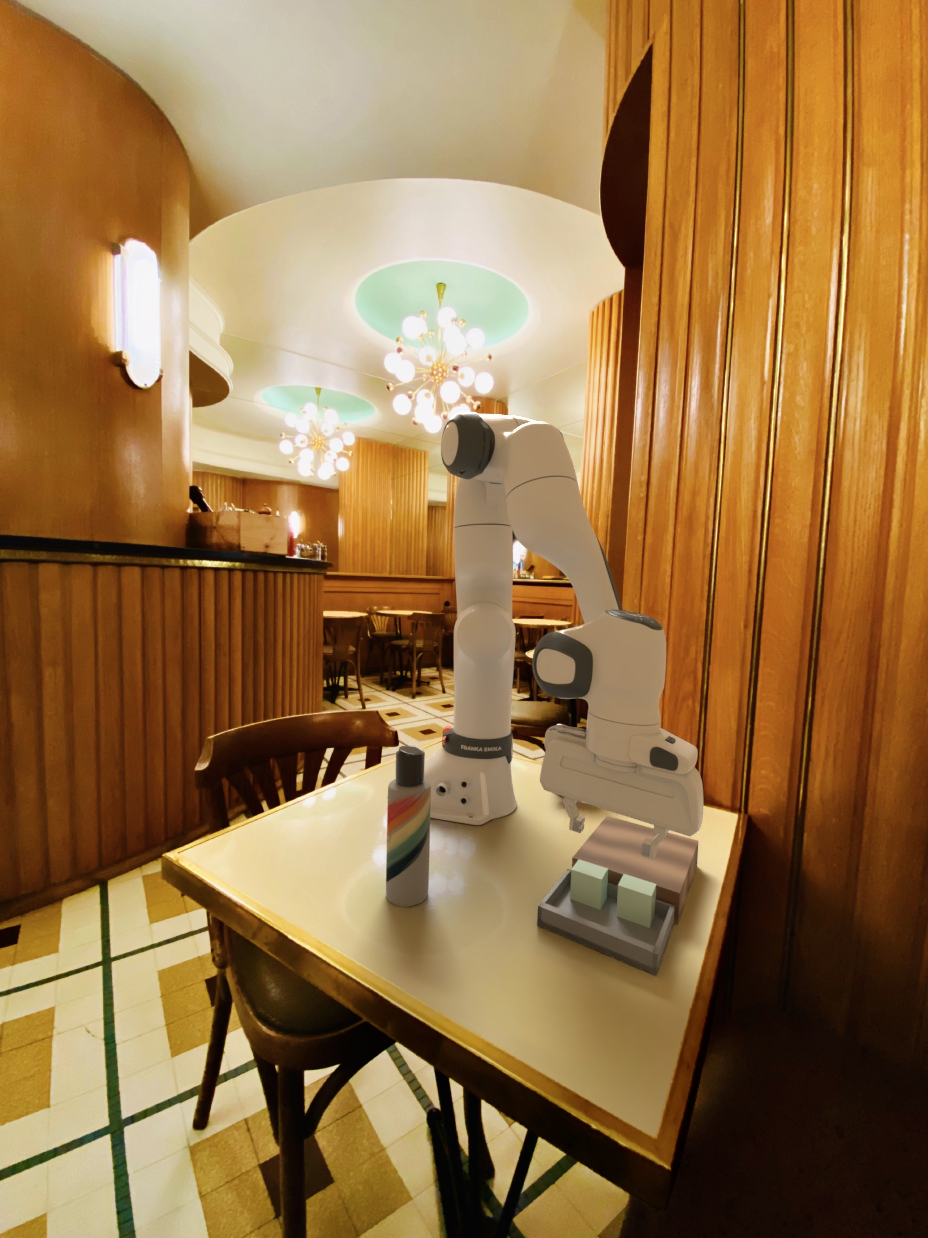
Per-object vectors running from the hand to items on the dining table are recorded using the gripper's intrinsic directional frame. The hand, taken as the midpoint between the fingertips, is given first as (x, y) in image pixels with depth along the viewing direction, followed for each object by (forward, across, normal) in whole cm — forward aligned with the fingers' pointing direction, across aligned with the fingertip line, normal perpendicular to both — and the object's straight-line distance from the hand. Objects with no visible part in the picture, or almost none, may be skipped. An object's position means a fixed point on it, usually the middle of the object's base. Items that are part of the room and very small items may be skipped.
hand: (611, 842), depth 63 cm
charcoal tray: (+9, +1, -3) cm, 10 cm away
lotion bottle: (+10, -22, -13) cm, 28 cm away
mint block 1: (+6, -2, +1) cm, 7 cm away
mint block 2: (+6, +4, +1) cm, 7 cm away
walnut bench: (+9, +1, +10) cm, 13 cm away
